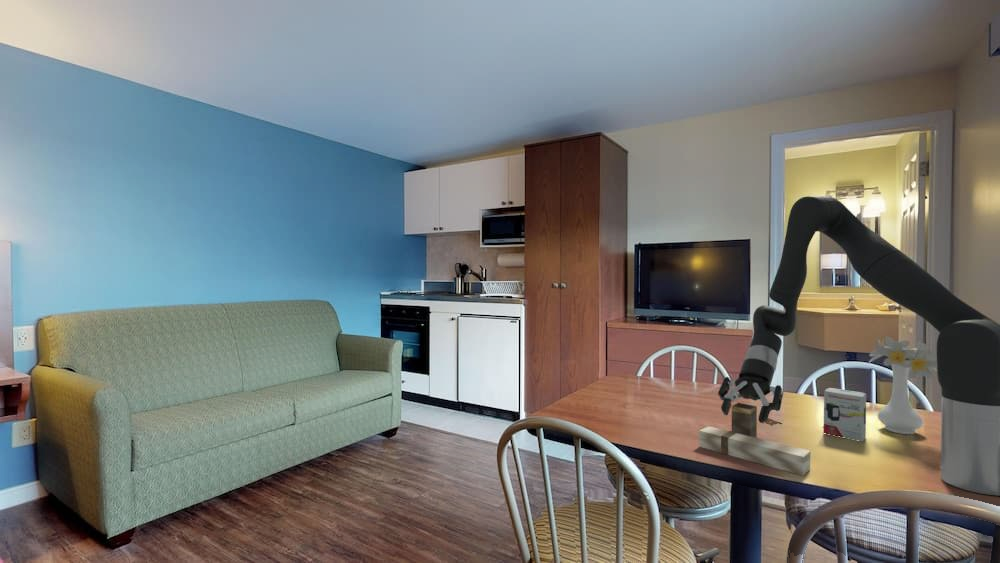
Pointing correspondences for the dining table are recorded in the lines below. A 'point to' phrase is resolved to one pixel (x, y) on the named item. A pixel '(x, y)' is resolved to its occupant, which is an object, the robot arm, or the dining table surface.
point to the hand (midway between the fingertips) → (742, 417)
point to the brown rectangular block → (744, 419)
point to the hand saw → (771, 422)
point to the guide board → (756, 450)
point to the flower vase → (903, 382)
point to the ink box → (845, 413)
